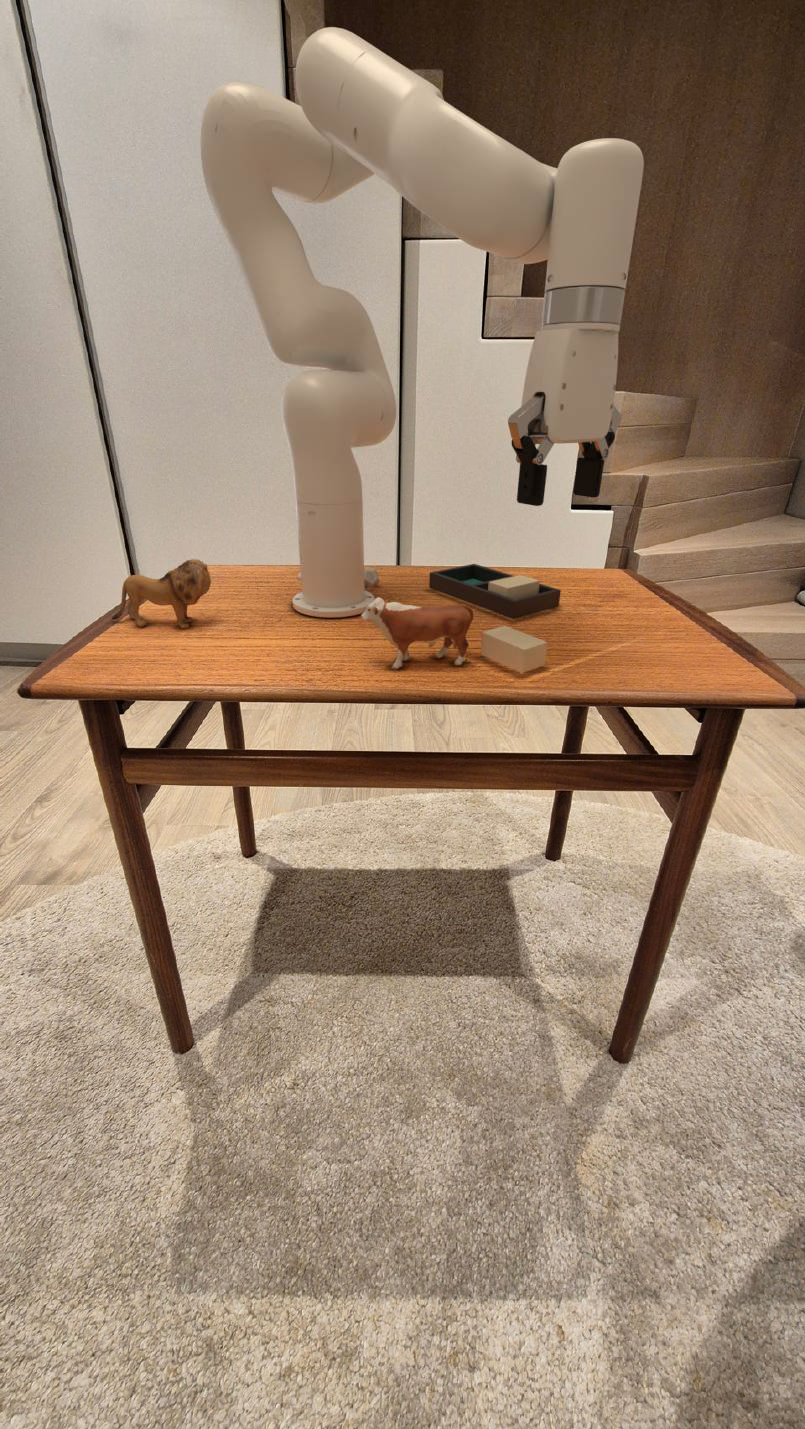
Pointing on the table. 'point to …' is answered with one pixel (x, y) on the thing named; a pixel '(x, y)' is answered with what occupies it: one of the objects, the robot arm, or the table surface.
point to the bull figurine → (421, 626)
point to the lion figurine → (167, 591)
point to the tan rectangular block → (513, 648)
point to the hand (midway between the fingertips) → (558, 500)
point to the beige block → (515, 587)
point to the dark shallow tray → (474, 589)
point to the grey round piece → (371, 578)
